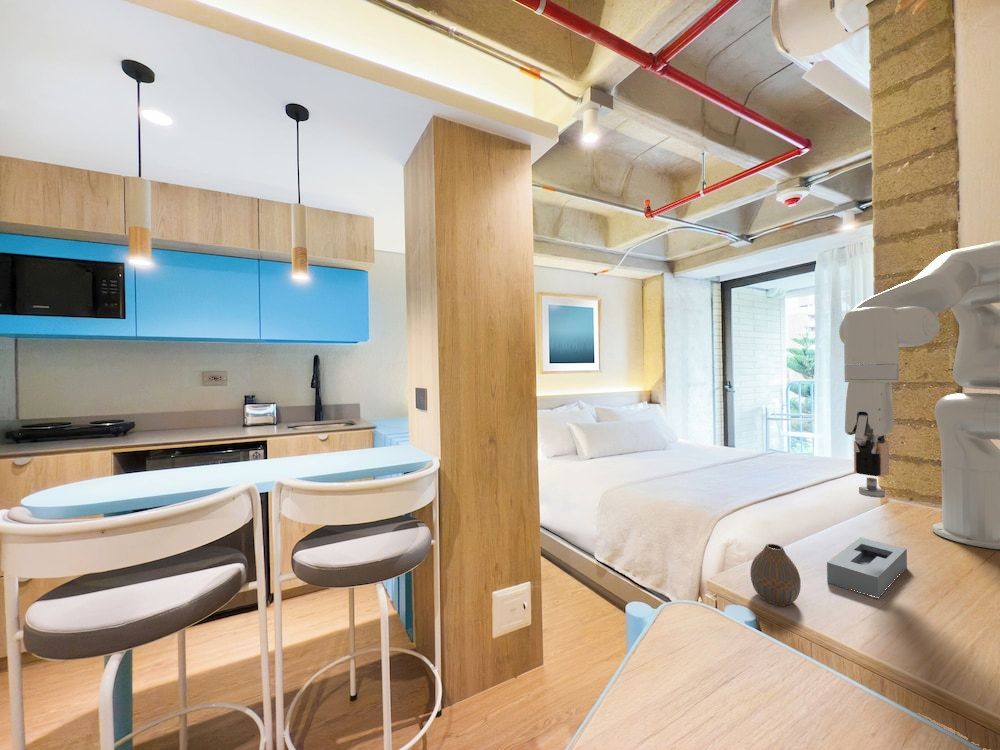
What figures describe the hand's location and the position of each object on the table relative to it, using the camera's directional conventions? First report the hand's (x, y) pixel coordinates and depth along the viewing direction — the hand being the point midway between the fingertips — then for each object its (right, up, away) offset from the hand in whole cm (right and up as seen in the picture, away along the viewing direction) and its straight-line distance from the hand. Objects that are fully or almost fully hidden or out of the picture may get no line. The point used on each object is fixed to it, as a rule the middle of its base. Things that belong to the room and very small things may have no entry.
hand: (871, 471), depth 77 cm
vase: (-24, -19, -9) cm, 32 cm away
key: (0, -4, 0) cm, 4 cm away
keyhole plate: (-2, -18, -2) cm, 19 cm away
